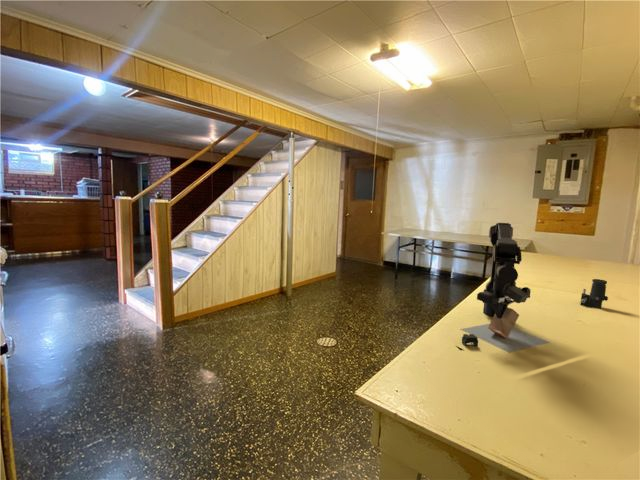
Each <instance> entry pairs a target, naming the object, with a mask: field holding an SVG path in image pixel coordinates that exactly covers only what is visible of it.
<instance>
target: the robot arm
mask: <svg viewBox="0 0 640 480" xmlns="http://www.w3.org/2000/svg"><path fill="white" fill-rule="evenodd" d="M513 236H514V227H512V225H511V223H509V222H497V223H496V224H495V225H491V226H490V227H489V231H488V238H490V239H489V242H490V243H491V245H492V256H491V257H492V258H491V259H492V260H491V268H490V279H489V281H488V282H487V283H486V284H485V288H484V289H483V290H482V291H480V292H477V295H476V300H478V301H480V302H482V303H483V312H482V313H483V314H484V315H485V316H488V317H492V318H493V317H494V315H495V314H496V316H497V318H499V319H501V318H502V316H503V314H504V312H505V310H506V308H507V307H508V306H509V305H511V304H513V303H516V304H520V303H526V301H527V299H530V298H531V288H529V287H527V286H523V287H520V286H519V287H518V286H517V282H516V281H517V279H518V277H519V273H518V271H517V270H516V268H515V265H520V263H521V262H522V260H523V259H522V249H521V247H520V246H519V244H518V243H517V241H516V240H515V239H513Z"/></svg>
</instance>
